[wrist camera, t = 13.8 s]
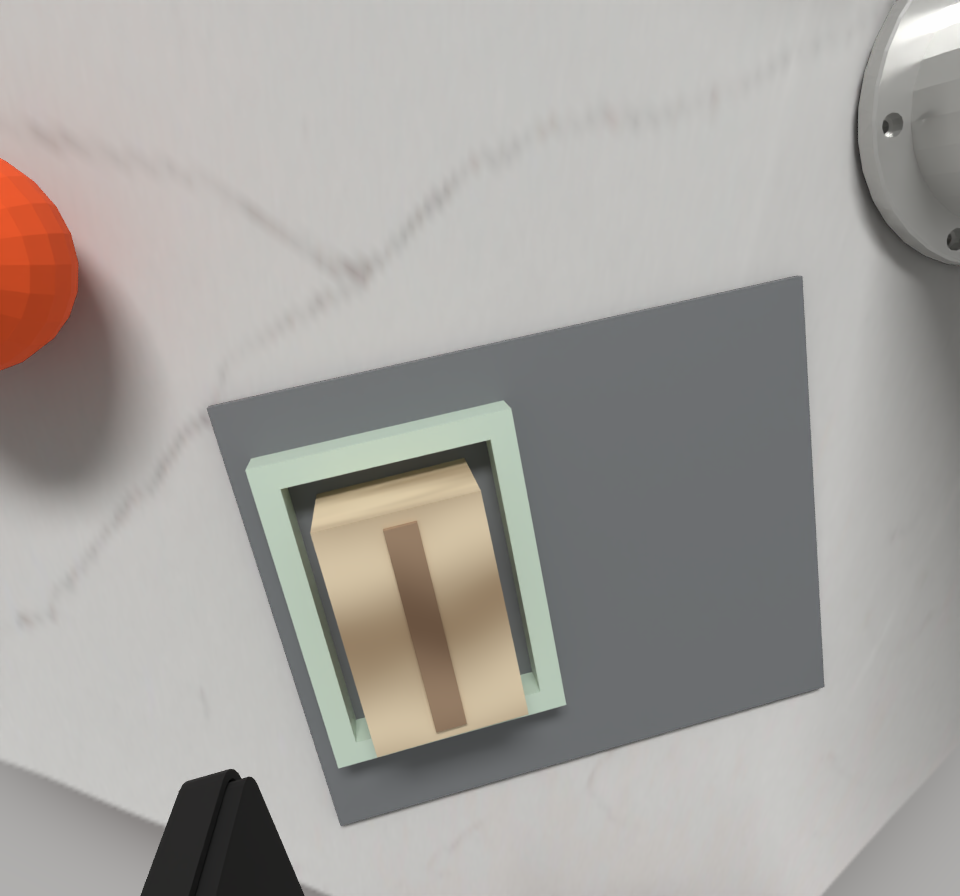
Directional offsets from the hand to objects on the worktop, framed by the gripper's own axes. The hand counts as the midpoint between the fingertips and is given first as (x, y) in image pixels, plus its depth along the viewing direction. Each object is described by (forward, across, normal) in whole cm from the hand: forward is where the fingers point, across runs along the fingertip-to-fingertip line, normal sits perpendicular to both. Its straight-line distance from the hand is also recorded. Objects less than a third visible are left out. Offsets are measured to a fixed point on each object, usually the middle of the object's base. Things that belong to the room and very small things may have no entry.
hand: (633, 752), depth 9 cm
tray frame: (+20, +4, +7) cm, 22 cm away
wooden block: (+20, +4, +7) cm, 21 cm away
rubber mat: (+20, -2, +8) cm, 22 cm away
